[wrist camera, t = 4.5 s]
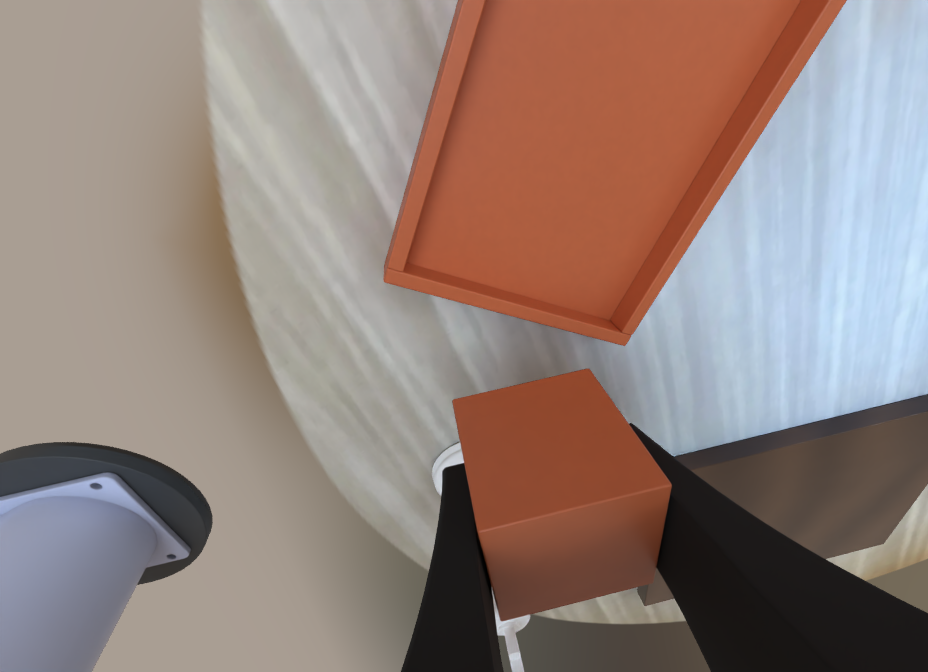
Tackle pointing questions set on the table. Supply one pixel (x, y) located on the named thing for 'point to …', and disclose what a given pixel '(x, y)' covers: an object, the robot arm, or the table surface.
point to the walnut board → (823, 479)
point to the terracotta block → (560, 493)
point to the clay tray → (588, 148)
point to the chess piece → (503, 627)
